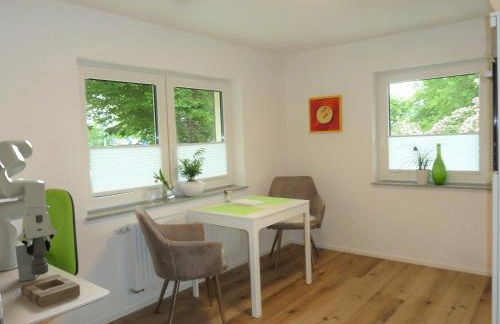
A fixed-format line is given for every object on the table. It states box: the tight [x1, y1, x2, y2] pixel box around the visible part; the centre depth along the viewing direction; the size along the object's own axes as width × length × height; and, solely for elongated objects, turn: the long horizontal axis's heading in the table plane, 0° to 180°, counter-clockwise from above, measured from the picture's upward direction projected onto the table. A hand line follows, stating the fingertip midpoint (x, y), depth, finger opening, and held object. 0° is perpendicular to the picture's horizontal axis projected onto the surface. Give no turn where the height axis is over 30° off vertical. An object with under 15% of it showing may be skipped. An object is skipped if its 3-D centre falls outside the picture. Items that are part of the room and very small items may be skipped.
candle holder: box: [31, 215, 49, 276], centre depth 161 cm, size 6×6×25 cm
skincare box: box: [15, 242, 40, 282], centre depth 169 cm, size 8×7×16 cm
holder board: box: [20, 273, 81, 308], centre depth 150 cm, size 20×14×4 cm
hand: (38, 252), depth 161 cm, fingers closed on candle holder, 6 cm apart
